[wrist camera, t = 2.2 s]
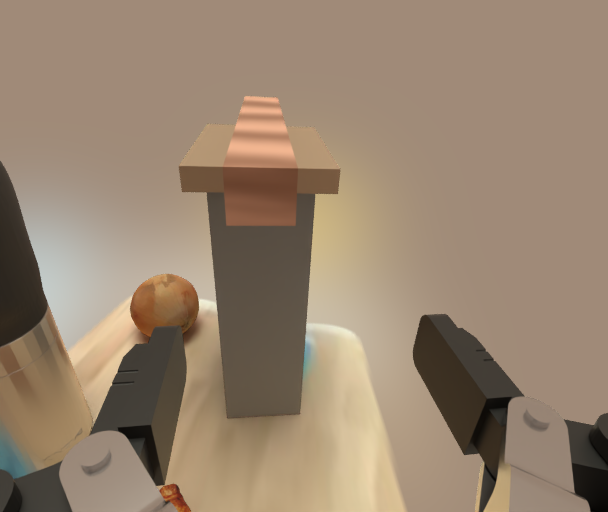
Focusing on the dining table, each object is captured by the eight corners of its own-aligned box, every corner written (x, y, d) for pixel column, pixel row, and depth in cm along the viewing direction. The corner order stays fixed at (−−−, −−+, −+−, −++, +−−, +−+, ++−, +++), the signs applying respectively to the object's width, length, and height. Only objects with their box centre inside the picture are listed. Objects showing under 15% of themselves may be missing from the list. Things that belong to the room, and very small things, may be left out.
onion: (170, 303, 63) (162, 254, 58) (214, 324, 59) (210, 273, 54) (122, 336, 55) (108, 283, 50) (169, 362, 51) (158, 307, 46)
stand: (313, 427, 44) (340, 169, 27) (212, 434, 42) (178, 165, 26) (301, 336, 57) (314, 127, 41) (224, 338, 56) (207, 123, 40)
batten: (295, 225, 18) (298, 168, 17) (226, 225, 18) (222, 166, 17) (277, 126, 41) (277, 97, 39) (246, 125, 40) (245, 96, 39)
